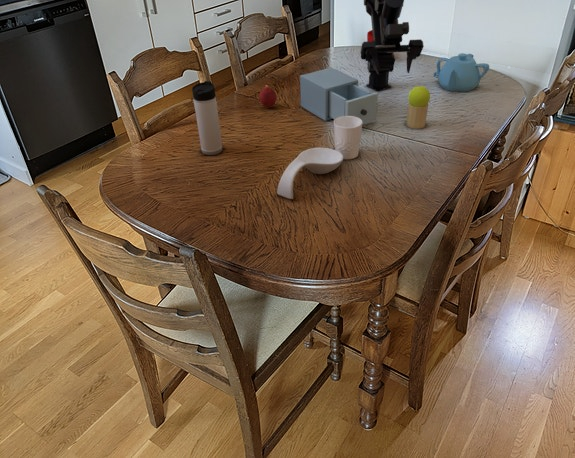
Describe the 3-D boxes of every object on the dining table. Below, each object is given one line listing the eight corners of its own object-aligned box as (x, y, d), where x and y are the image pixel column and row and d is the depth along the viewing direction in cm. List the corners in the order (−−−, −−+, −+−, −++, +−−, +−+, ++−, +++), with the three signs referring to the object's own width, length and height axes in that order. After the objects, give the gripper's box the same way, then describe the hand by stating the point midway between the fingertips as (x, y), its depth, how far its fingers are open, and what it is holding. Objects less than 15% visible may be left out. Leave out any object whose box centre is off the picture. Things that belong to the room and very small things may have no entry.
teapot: (492, 88, 177) (498, 57, 170) (449, 96, 173) (454, 64, 167) (467, 74, 189) (472, 44, 182) (426, 81, 185) (430, 51, 178)
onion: (277, 104, 174) (276, 82, 169) (276, 111, 169) (274, 88, 164) (261, 104, 174) (259, 82, 169) (259, 111, 170) (257, 88, 165)
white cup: (364, 150, 145) (366, 118, 139) (355, 162, 139) (357, 129, 133) (338, 145, 148) (339, 114, 141) (329, 157, 142) (329, 125, 136)
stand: (416, 119, 160) (418, 98, 156) (429, 125, 156) (432, 104, 152) (402, 123, 158) (404, 102, 153) (415, 130, 153) (418, 109, 149)
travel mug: (226, 146, 150) (218, 81, 138) (217, 156, 145) (208, 90, 133) (208, 143, 152) (198, 79, 140) (198, 154, 147) (187, 88, 135)
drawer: (378, 121, 157) (380, 94, 152) (349, 131, 153) (350, 103, 147) (350, 106, 168) (351, 80, 162) (321, 114, 163) (321, 88, 158)
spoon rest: (314, 154, 144) (314, 131, 140) (350, 164, 138) (351, 141, 134) (266, 192, 129) (264, 168, 124) (304, 205, 123) (304, 180, 119)
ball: (418, 101, 157) (420, 81, 153) (433, 107, 152) (436, 87, 148) (402, 106, 154) (405, 86, 150) (417, 113, 150) (420, 92, 146)
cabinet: (356, 111, 166) (358, 79, 160) (325, 121, 161) (325, 88, 155) (331, 97, 177) (331, 67, 170) (300, 106, 172) (300, 75, 165)
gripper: (363, 13, 151) (366, 58, 146) (425, 11, 150) (430, 56, 146) (359, 37, 161) (362, 79, 157) (417, 35, 161) (421, 77, 157)
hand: (393, 72), depth 154 cm, fingers open, 9 cm apart
